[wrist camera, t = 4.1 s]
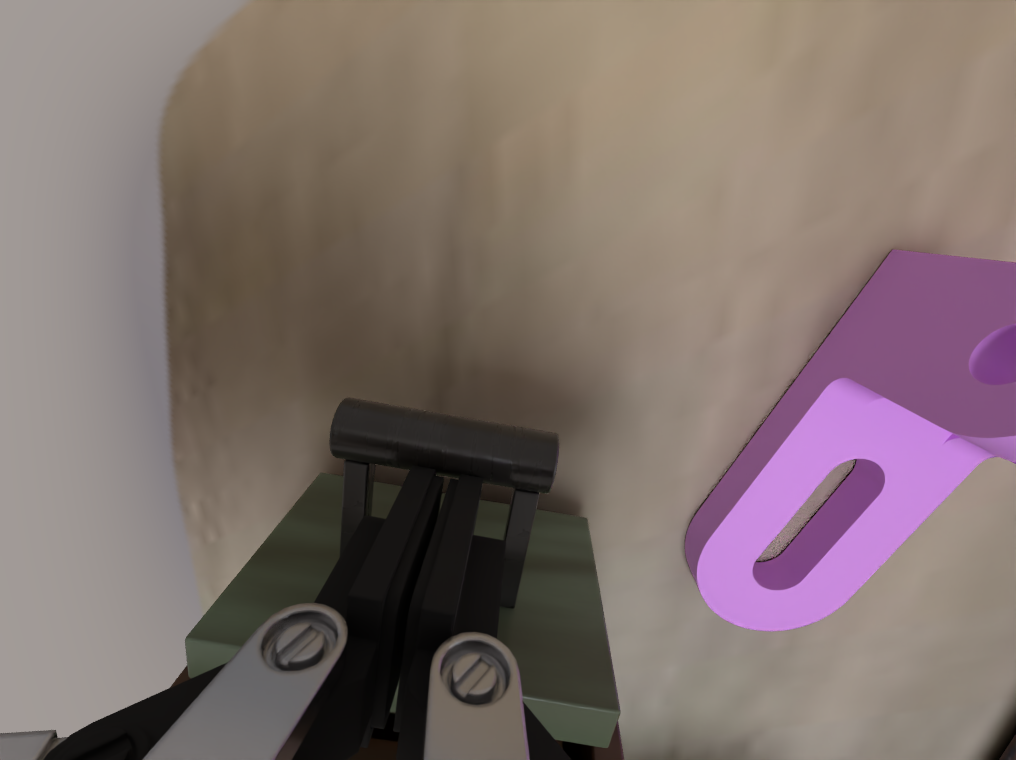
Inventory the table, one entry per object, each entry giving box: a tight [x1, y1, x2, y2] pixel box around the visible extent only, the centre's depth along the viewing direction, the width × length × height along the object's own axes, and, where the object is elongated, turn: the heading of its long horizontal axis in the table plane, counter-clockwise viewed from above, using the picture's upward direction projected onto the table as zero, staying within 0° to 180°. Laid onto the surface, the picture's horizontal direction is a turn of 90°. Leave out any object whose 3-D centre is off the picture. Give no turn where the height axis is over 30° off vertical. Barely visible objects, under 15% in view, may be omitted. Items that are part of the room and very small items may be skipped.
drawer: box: [185, 398, 620, 749], centre depth 14 cm, size 15×9×7 cm, turn 171°
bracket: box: [685, 249, 1016, 631], centre depth 13 cm, size 13×6×7 cm, turn 155°
